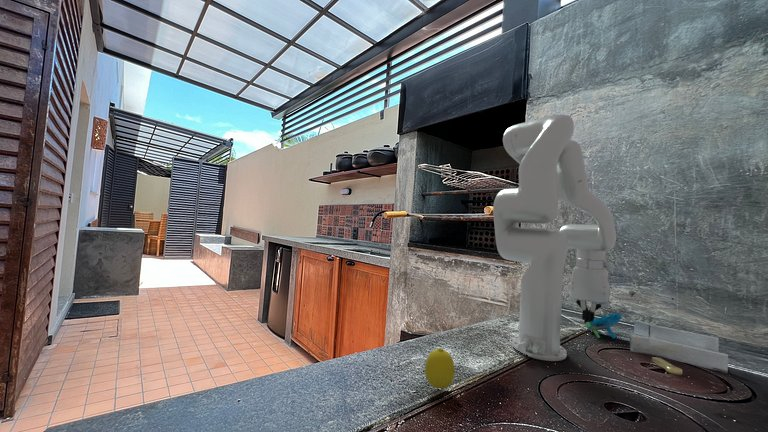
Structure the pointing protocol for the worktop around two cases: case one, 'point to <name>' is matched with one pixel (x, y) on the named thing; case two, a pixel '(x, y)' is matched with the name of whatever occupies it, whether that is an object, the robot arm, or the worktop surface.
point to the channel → (678, 346)
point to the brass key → (667, 366)
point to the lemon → (439, 368)
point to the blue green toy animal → (604, 324)
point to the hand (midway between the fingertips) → (588, 322)
